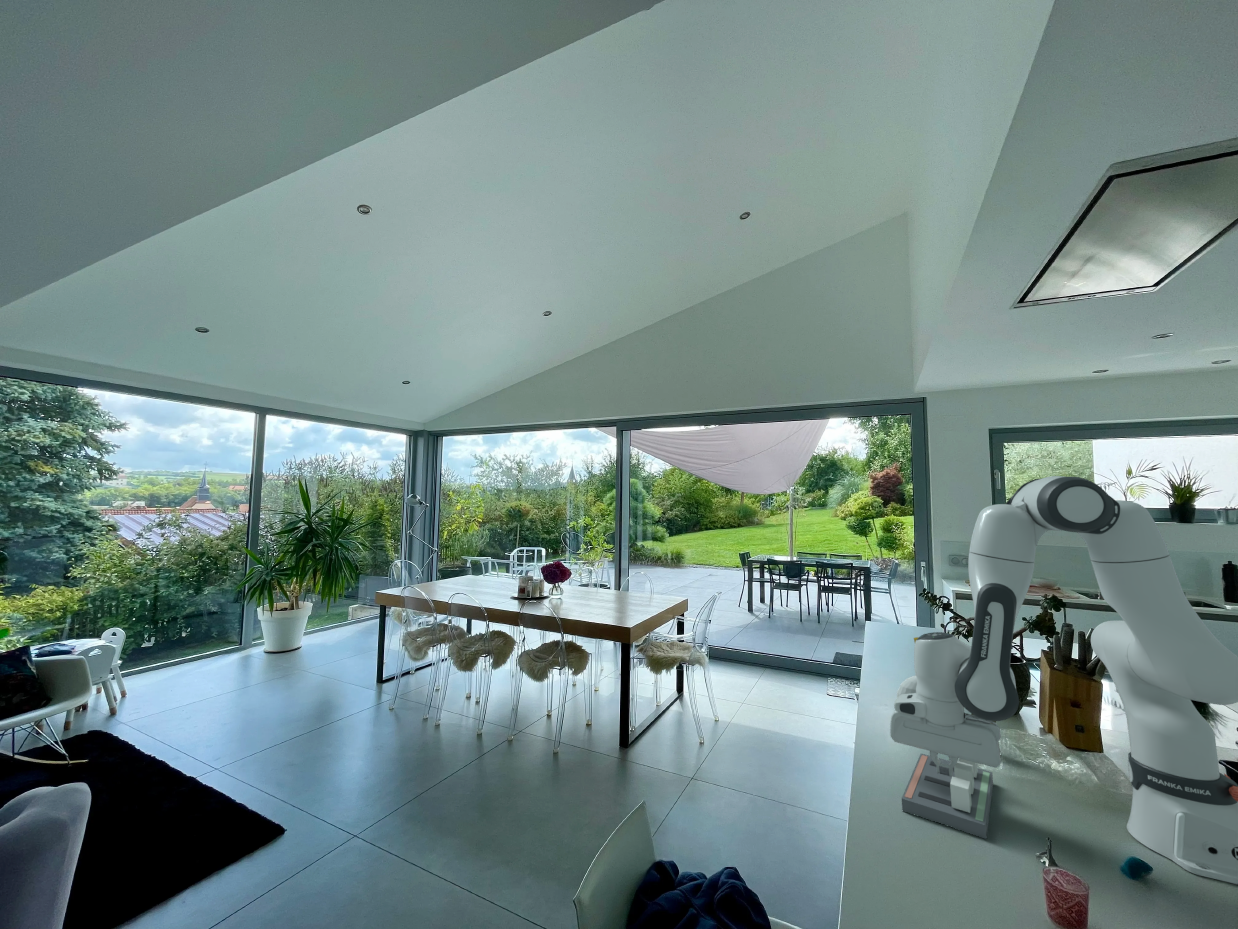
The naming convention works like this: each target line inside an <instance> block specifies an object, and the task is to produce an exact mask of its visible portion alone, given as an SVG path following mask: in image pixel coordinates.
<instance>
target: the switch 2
mask: <svg viewBox="0 0 1238 929" xmlns="http://www.w3.org/2000/svg"><path fill="white" fill-rule="evenodd" d="M950 790H951V803H952V807H953V808H956V809H959V810H962V811H966V812H969V813H970V811H971V805H972V802H971V789H970V781H967V780H963V779H960V778H956V777H953V776H952V779H951V783H950Z"/></svg>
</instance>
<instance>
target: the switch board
mask: <svg viewBox="0 0 1238 929" xmlns="http://www.w3.org/2000/svg"><path fill="white" fill-rule="evenodd" d="M938 758H939V760H940V762H941V763H944V764H948V765H949V764H950V762H951V761H950V760H949V759H948V760H947V759H944V758H940V757H938ZM953 777H955V773H954V767H953ZM951 779H952V777H951V776H947V775H944V774H940V773H937V767H936V764H935V763H934V761H933V760H932V758H931V757H930V754H925V753H920V755H919V756H918V758H917V761H916V763H915V765H914V769H913V770H912V773H911V776H910V778H909V780H908V783H907V785H906V788H905V789H904V792H903V794H902V797H901V811H902V810H903V811H905V812H904V813H906V812H909V813H911V814H910V815H912V814H915V815H918V816H921V817H923V818H922V819H924V818H927V819H930V820H932V821H931V822H933V821H935V822H934V823H936V822H939V823H941V824H940V825H942V824H945V825H948V826H952V827H954V828H956V829H955V830H957V829H959V830H958V831H960V830H962V831H961V832H963V831H964V833H967V834H969V833H970V835H972V834H973V835H972V836H975V835H976V837H978V836H979V838H982V839H984V840H987V838H988V828H989V821H990V812H991V804H992V796H993V788H994V777H993V771H990V770H986V769H982V768H978V773H977V778H975V777H974V791H973V794H971V802H972V805H971V811H970V813H969V812H966V811H962V810H959V809H956V808H953V807H952V803H951V790H950V783H951ZM903 811H902V812H903ZM909 813H908V814H909ZM915 815H914V816H915ZM918 816H917V817H918ZM921 817H920V818H921ZM927 819H926V820H927ZM930 820H929V821H930ZM939 823H938V824H939ZM945 825H944V826H945ZM948 826H947V827H948ZM954 828H953V829H954Z"/></svg>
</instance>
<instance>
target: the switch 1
mask: <svg viewBox="0 0 1238 929" xmlns="http://www.w3.org/2000/svg"><path fill="white" fill-rule="evenodd" d="M958 761H959V762H963V763H967V764H970V765H973V775H974V777H975V778H977V773H978V769H979V767H978V763H975V762H971V761H967V760H963V759H960V758H958Z"/></svg>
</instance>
